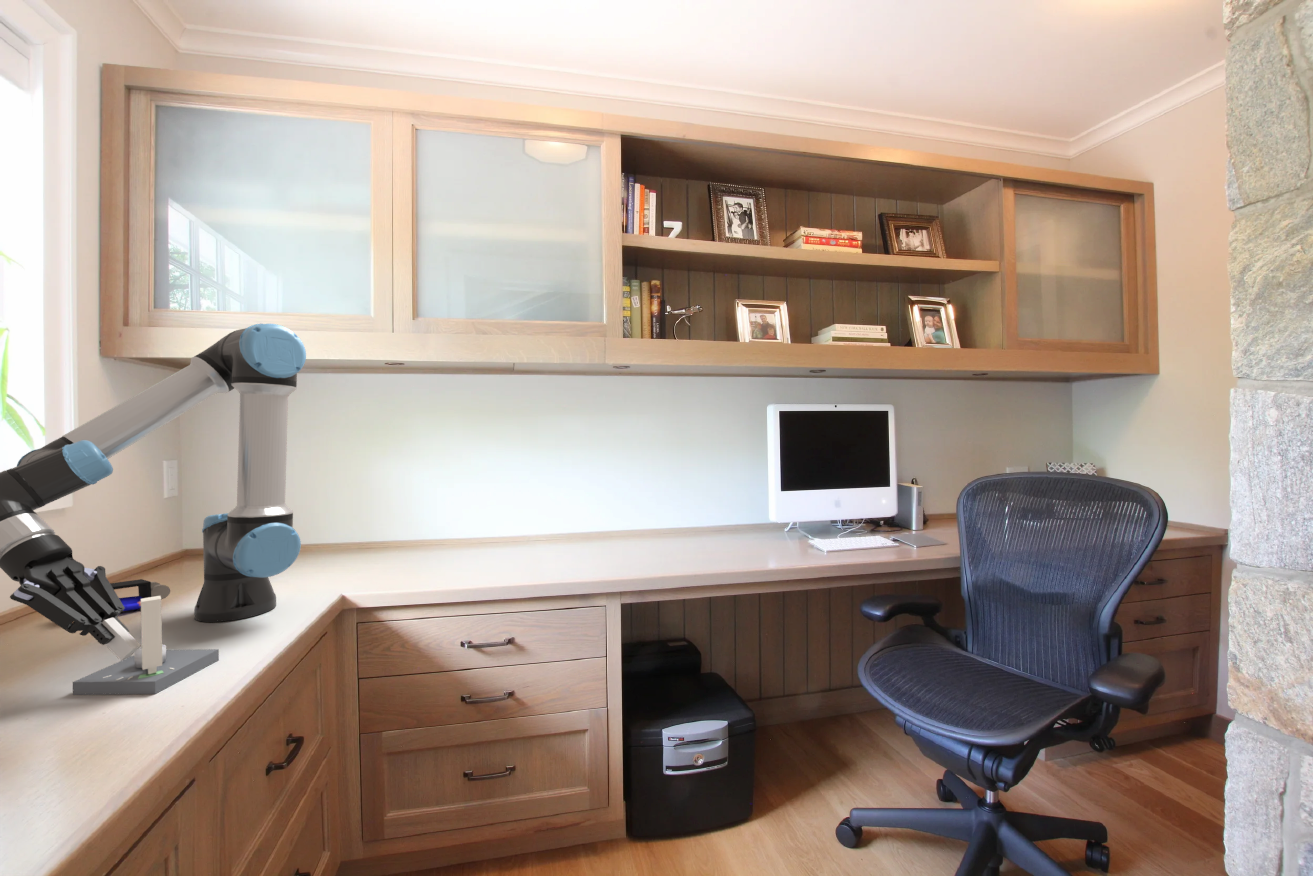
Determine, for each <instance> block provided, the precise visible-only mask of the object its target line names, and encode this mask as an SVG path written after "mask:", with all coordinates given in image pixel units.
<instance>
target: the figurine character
mask: <svg viewBox="0 0 1313 876" xmlns="http://www.w3.org/2000/svg"><path fill="white" fill-rule="evenodd" d="M109 583H110V584H111V586H112V588H113V589H114V591H115V590H121V589H128V588H133V587H134V588H136V587H138V589H137V590H138V595H136V596H135V595H133V596H126V597H125V596H124V597H119V599H120V601H121V602H122V604H123V606H124V608H125V609H124V610H123V611H122V612H125V611H126V612H127V611H133V610H141V599H142V598H148V597H155V596H161V600H164V599H166V598H168V596H170V594H171V588H170V587H169V586H168V585H165V584H161V583H160V582H156V581H149V580H146V579H143V578H140V579H133V580H126V581H119V582H118V581H117V582H109Z"/></svg>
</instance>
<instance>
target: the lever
mask: <svg viewBox="0 0 1313 876" xmlns="http://www.w3.org/2000/svg"><path fill="white" fill-rule="evenodd" d="M162 617H163V616H162V599H161V596H155V597H148V598H142V599H141V609H140V631H141V632H140V633H141V636H140V638H141V640H140V641H141V643H140V645H141V647H139V648H138V649H137V650H136V651H135V652H134V653H133V655H134V663H135V667H136V668H142V670H144V669H148V674H152V673H156V672H157V666H162V663H163V662H165V661H166V650H167V645H166V644H163V633H162V632H163V630H162V627H163V626H162V621H163V620H162V619H163V618H162Z"/></svg>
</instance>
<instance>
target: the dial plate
mask: <svg viewBox="0 0 1313 876" xmlns="http://www.w3.org/2000/svg"><path fill="white" fill-rule="evenodd" d="M219 654H220V651H219V648H213V649H212V648H211V649H210V648H209V649H208V648H207V649H205V648H204V649H202V648H201V649H192V648H191V649H190V648H189V649H183V648H182V649H166V661H165V662H163V663H162V666H157V672H156V673H152V674H148V669H144V670H142V668H136V667H135V663H134V654H132V655H131V656H130V657H129V658H126V659H124V660H122V661H121V660H120V661H118V662H115V663H113V664H111V665H108V666H106V667H104V668H101V669H99V670H97V671H94V672H93V673H91V674H90V673H89V674H87V675H86V676H83V677H81V678H79V679H76V680H74V681H72V695H81V696H82V695H157V694H158V693H160V692H162V691H164V690H166V689H167V688H169V687H171V686H173V685H175V684H177V683H179V682H181V681H183V680H184V679H186V678H189V677H190V676H192V675H194V674H196V673H197V672H199V671H201V670H203V669H205V668H208V667H209V666H210V665H212V664H215V663H216V662H218V661H220V660H219V659H220V655H219Z"/></svg>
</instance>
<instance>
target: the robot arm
mask: <svg viewBox="0 0 1313 876" xmlns="http://www.w3.org/2000/svg"><path fill="white" fill-rule="evenodd" d="M306 360H307V350H306V348H305V344H304V342H303V341H302V339H301V338H300V337H299V336H298V335H297V334H296V333H295V332H294V331H292V330H291V329H290V328H288V327H285V326H283V325H280V324H277V323H256V324H252V325H250V326H248V327H245V328H239V329H236V330H234V331H231V332H229V333H228V334H225V336H223V337H222V338H220V339H219V340H218V341H216V342H214V343H213V344H212V345H211V346H209V347H208V348H206V349H205V350H203V351H201V352H199V353H198V354H196V355H194V356H192V357H191V358H190V364H188V365H187V366H185V367H183V368H181V369H180V370H178V371H176V372H175V373H173V374H172V375H169V376H167V377H165V378H164V379H162V380H160V381H158V382H157V383H155V384H152V385H151V386H149V387H148V388H146V389H144V390H142V391H141V392H138V393H137V394H135V395H133V396H132V397H129V398H128V399H126V400H124V401H122V402H120V403H119V404H117V405H115V406H114V407H112V408H110V409H108V410H106V411H105V412H103V413H101V414H100V415H97V416H96V417H94V418H92V419H90V420H89V421H86V422H85V423H83V424H82V425H79V426H77V427H75V428H74V429H72V430H70V431H68V432H67V433H65V434H63V435H62V436H61V437H59V438H57V439H54V440H53V441H51V442H49V443H47V444H45V445H44V446H41V447H40V448H37V449H32V450H31V451H28V453H27V452H26V454H24V455H22V456H21V457H20V459H19V460H18V462H17V464H16V466H14V467H12V468H9V469H6V470H2V471H1V472H0V569H1V570H2V571H3V572H4V573H5V574H6V575H7V576H8V577H9V578H10V579H11V580H12V581H14V582H18V583H19V585H20V586H19V587H18V588H16V589H15V591H14V592H13V593H11V594H10V596H9V598H10V600H12V601H14V602H16V603H17V602H18V603H20V604H24V605H26V606H28V607H29V608H30V609H32V610H34V611H35V612H37V613H38V614H40V615H41V616H42V617H44V618H46V619H48V620H49V621H50V622H52V623H54V624H55V625H57V626H58V627H59V628H61V629H63V630H65V631H66V632H67V633H69V634H76V633H77V632H79V635H80V636H87V635H89V634H90V635H91V636H92V638H94V639H95V640H96V641H97V643H98V644H100V645H102V646H105V647H106V648H108V649H109V650H110V651H111V653H112V654H114V655H115V657H117V658H118V659H119V660H120V661H122V660H124V659H127V658H129V657H131V656H133V655H134V652H135V651H136V650H137V649H139V648H141V647H142V644H141V643H140V642H139V641H138V640H137V639H136V638H134V636H133V635H131V633H130V630H129V628H128V627H127V626H126V625H125V624H124V623H123V622H122V621H121V620H120V619H119V618H118V616H119V615H120V614H121V613H122V612H124V611H123V610H124V609H125V608H124V606H123V604H122V602H121V601H120V599H119V598H120V597H119V596H118V594H117V593H116V591H115V590H114V589H113V588H112V586H111V584H110V583H111V582H110V581H109V579H108V578H107V576H106V575H107V573H106V568H105V567H104V566H103V565H98V566H97V567H95V569H94V568H90V567H85V565H84V564H83V563H81V562H80V561H78V560H76V559H74V557H73V549H72V548H71V546H70V545H68V544H67V542H66V541H64V539H63V538H62V537H61V536H59V534H58V535H57V534H56V532H55V530H54V529H53V528H52V527H51V526H50V525H49V524H48V523H47V522H46V521H45V520H44V519H43V518H42V517H41V516H40V515H39V514H38V513H37V512H36V511H35V510H37V509H40V508H43V507H45V506H46V505H48V504H50V503H53V502H55V501H57V500H59V499H61V498H64V497H66V496H69V495H70V494H73V493H75V492H77V491H79V490H82V489H85V488H87V487H89V486H91V485H96V484H97V483H98V482H100V481H101V480H103V479H105V478H107V477H110V476H111V475H112V474H113V472H114V468H113V465H112V463H111V462H110V460H109V459H111V458H112V457H114V456H115V455H118V453H121V452H123V450H126V449H127V448H129V447H131V446H132V445H134V444H136V443H137V442H139V441H141V440H142V439H144V438H145V437H147V436H149V435H150V434H152V433H154V432H155V431H157V430H159V429H160V428H162V427H164V426H165V425H167V424H168V423H170V422H172V421H173V420H175V419H177V418H178V417H180V416H182V415H183V414H185V413H187V412H189V411H190V410H192V409H194V408H195V407H197V406H199V405H200V404H201V403H203V402H205V401H206V400H208V399H210V398H212V397H213V396H215V395H217V394H228V393H230V391H233V390H236V391H237V392H238V393H239V416H238V420H239V421H238V451H237V453H238V455H237V457H238V458H237V487H236V505H235V507H234V508H233V509H231V510H230V511H229V512H228V513H227V512H226V513H218V514H211V515H207V516H206V517H205V518H204V519H203V526H202V528H201V533H202V538H203V539H202V541H203V543H202V547H203V548H202V549H203V552H202V553H203V584H202V587H201V590H200V591H199V592H200V593H199V594H198V598H197V601H196V604H195V606H194V611H193V613H194V614H193V615H194V616H193V617H194V620H195V621H199V622H205V623H214V622H216V623H217V622H218V623H219V622H228V621H235V620H242V619H247V618H251V617H255V616H259V615H262V614H264V613H267V612H269V611H271V610H273V609H275V608H276V607H277V595H276V592H275V591H274V589H273V587H272V586H273V585H272V582H271V580H270V579H269V578H271V577H274V576H277V575H280V574H281V573H283V572H284V571H287V569H289V568H290V567H291V566H292V565H293V564H294V563H295V561H296V560H297V559H298V556H299V554H300V552H301V547H302V546H301V545H302V543H301V542H302V541H301V537H300V536H299V534H298V532H297V531H296V530H295V529H294V523H293V522H294V511H293V509H292V508H291V507H289V506H288V505H287V504H286V483H287V482H286V480H287V451H288V448H287V447H288V445H287V444H288V442H287V441H288V416H289V415H288V414H289V413H288V409H289V407H288V406H289V396H290V395H291V394H292V393H294V392H295V391H297V385H298V383H297V381H298V373H299V372H300V371H301V370H302V369H303V368H304V365H305V363H306Z"/></svg>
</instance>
